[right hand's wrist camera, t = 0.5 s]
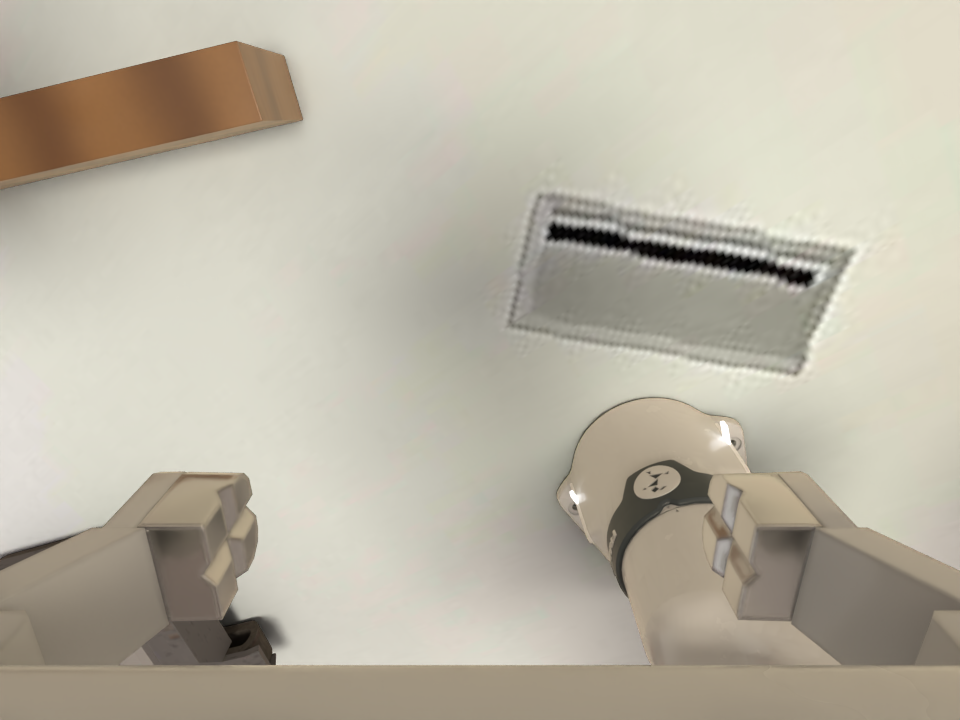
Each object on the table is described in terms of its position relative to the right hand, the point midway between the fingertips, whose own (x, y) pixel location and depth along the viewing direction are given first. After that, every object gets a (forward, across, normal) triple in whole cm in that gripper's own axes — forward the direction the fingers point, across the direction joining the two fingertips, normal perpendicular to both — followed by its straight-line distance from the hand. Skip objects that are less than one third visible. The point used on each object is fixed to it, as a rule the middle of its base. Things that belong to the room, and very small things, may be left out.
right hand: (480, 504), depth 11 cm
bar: (+41, -28, +6) cm, 50 cm away
